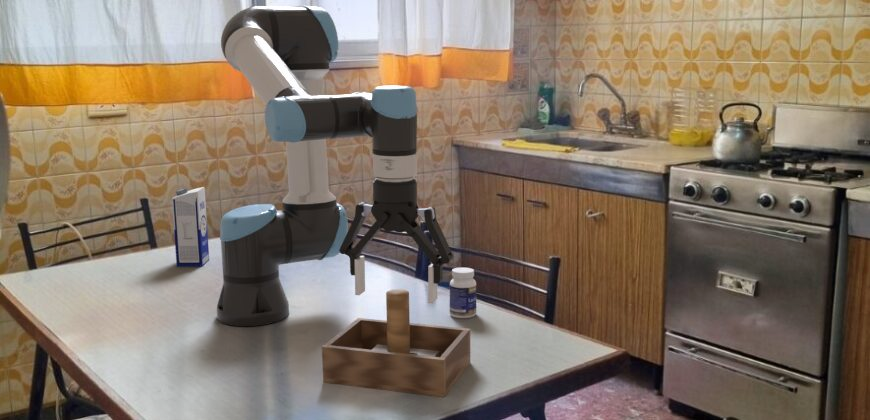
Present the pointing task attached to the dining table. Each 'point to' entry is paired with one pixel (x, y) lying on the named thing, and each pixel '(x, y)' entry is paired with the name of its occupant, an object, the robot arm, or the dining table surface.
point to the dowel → (398, 321)
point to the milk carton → (190, 227)
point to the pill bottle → (462, 293)
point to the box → (397, 358)
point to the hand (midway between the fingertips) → (396, 297)
